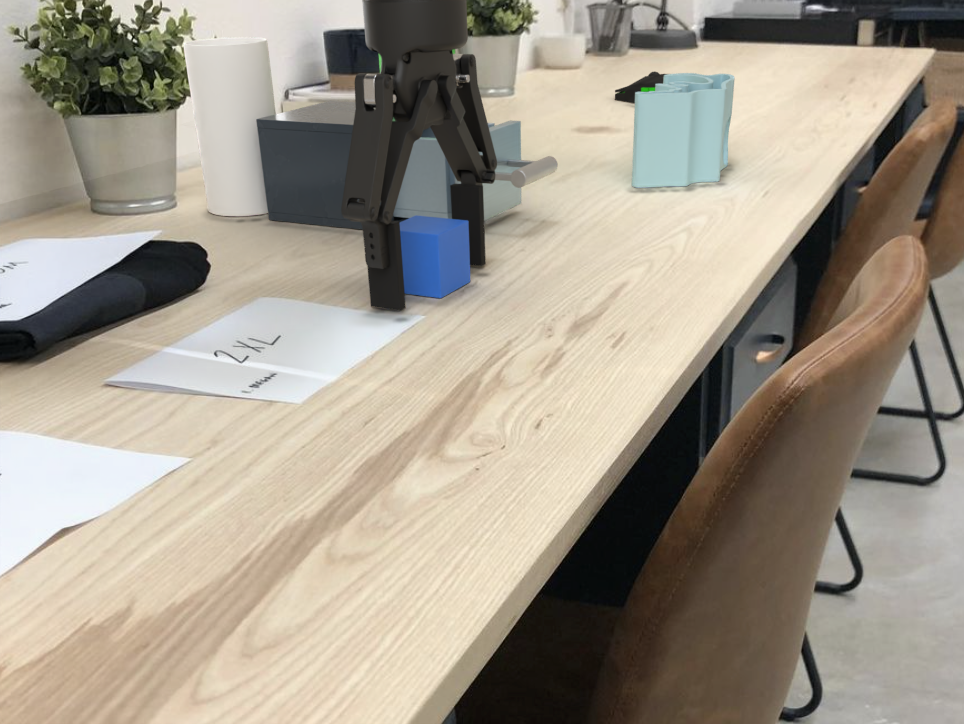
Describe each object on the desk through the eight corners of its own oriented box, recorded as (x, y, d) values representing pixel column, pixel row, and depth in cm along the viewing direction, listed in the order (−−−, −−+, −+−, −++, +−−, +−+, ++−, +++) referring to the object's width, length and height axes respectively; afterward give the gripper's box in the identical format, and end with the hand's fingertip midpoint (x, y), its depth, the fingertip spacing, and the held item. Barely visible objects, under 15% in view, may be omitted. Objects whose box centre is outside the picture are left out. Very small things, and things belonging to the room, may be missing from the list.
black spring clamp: (680, 110, 166) (682, 81, 164) (600, 100, 177) (601, 73, 175) (728, 101, 172) (730, 73, 170) (648, 92, 183) (649, 65, 181)
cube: (387, 291, 90) (383, 229, 88) (419, 275, 94) (415, 215, 91) (441, 298, 88) (437, 234, 86) (471, 282, 92) (468, 220, 89)
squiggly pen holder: (721, 189, 119) (729, 94, 114) (629, 187, 121) (633, 94, 116) (729, 157, 134) (736, 72, 129) (647, 156, 136) (651, 73, 131)
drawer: (567, 207, 110) (567, 123, 106) (515, 234, 101) (514, 143, 97) (407, 193, 118) (402, 114, 114) (347, 217, 109) (339, 132, 105)
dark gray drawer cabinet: (454, 205, 116) (450, 106, 111) (390, 232, 107) (382, 126, 102) (338, 194, 122) (329, 100, 118) (268, 220, 113) (255, 119, 108)
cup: (239, 196, 123) (217, 36, 115) (301, 202, 120) (283, 37, 112) (192, 213, 117) (165, 44, 108) (256, 219, 113) (233, 46, 105)
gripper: (452, -22, 91) (463, 244, 102) (266, 2, 72) (305, 323, 83) (534, -23, 88) (537, 251, 99) (363, 1, 69) (390, 335, 80)
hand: (431, 284), depth 91 cm, fingers open, 12 cm apart
